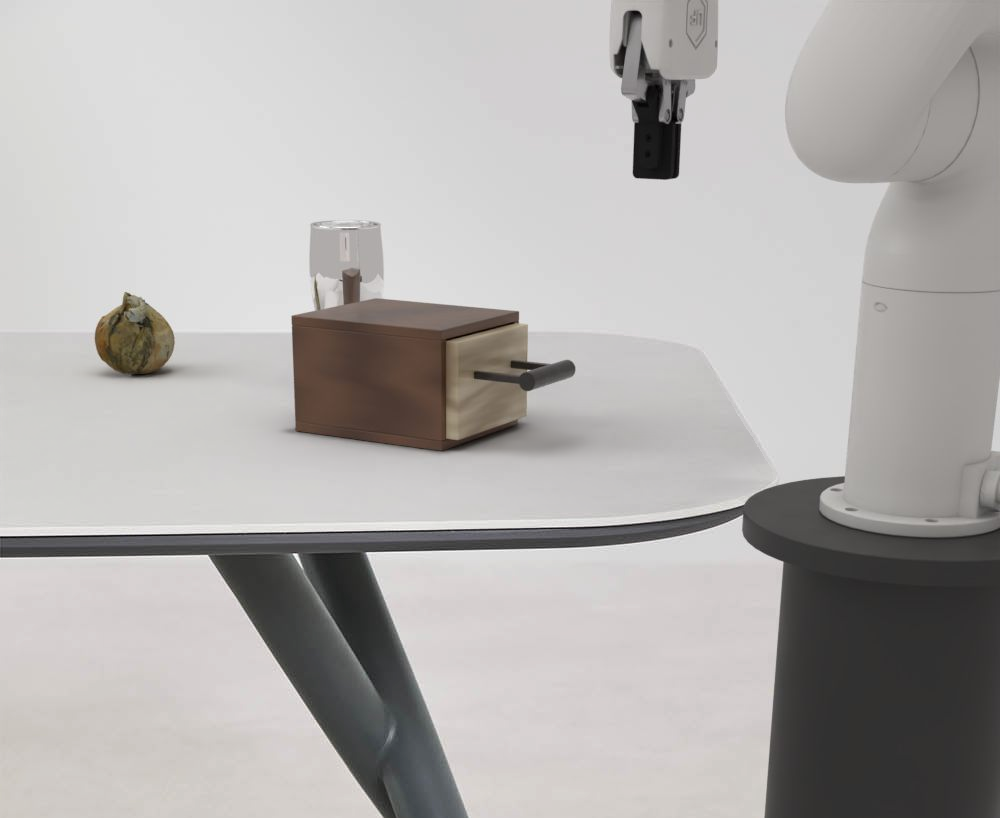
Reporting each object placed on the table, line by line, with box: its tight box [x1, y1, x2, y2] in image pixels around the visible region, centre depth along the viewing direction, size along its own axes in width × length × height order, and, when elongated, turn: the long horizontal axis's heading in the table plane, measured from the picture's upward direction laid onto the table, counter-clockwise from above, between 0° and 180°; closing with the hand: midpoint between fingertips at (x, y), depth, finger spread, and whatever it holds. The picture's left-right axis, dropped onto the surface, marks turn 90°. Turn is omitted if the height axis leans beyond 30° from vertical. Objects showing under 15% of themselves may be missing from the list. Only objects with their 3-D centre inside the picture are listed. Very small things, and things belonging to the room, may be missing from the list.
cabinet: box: [291, 298, 520, 452], centre depth 145 cm, size 15×13×10 cm
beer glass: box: [308, 219, 385, 311], centre depth 161 cm, size 7×7×15 cm
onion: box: [94, 291, 176, 376], centre depth 169 cm, size 8×8×8 cm
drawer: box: [445, 322, 576, 440], centre depth 143 cm, size 19×11×8 cm, turn 60°
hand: (655, 177), depth 132 cm, fingers closed
